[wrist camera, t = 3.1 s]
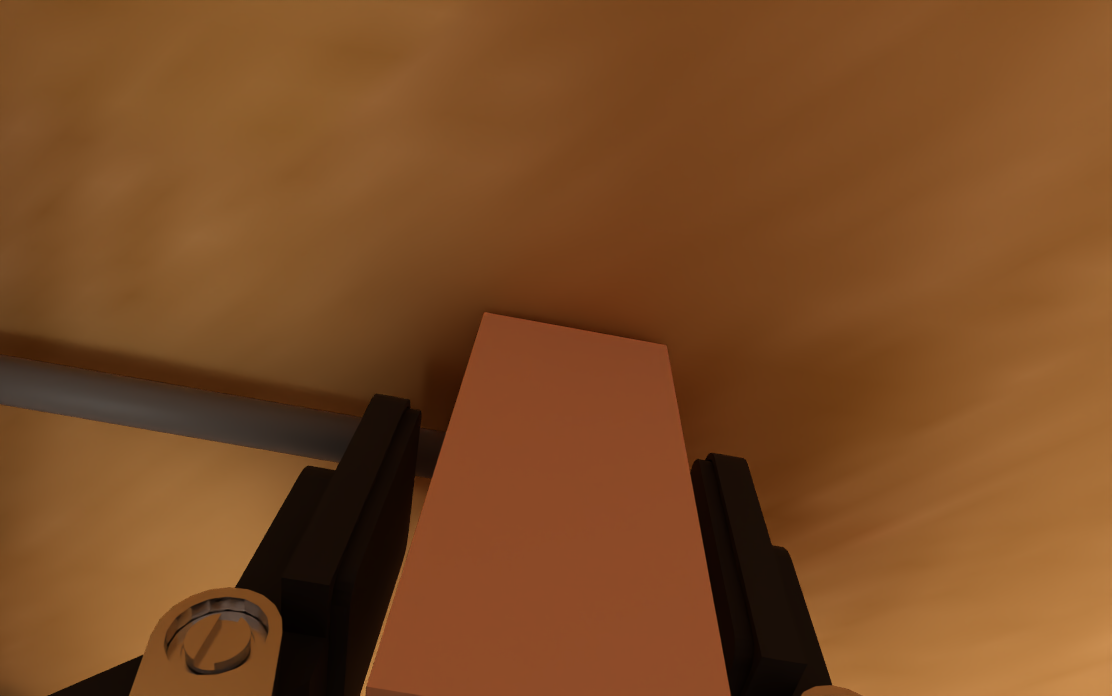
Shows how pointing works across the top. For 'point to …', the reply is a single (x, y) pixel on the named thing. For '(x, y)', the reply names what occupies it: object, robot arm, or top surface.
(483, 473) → the lopsided dumbbell
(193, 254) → the top surface
